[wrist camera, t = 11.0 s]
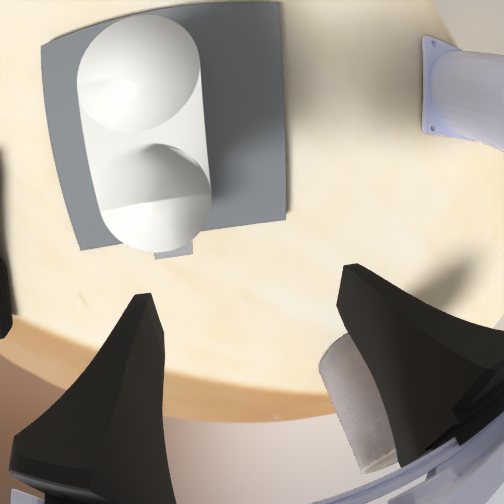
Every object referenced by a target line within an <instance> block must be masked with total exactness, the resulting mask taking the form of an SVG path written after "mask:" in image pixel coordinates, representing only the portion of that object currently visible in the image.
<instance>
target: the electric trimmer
mask: <svg viewBox="0 0 504 504" xmlns="http://www.w3.org/2000/svg"><path fill="white" fill-rule="evenodd" d="M12 324H13V320H12V313H11V306H10V298H9V289H8V280H7V270H6V267H5V266H4V264H3V263H2V262H1V261H0V339H3V338H5V336H6V335H7V334H8V332H9V331H10V329H11V328H12Z"/></svg>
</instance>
